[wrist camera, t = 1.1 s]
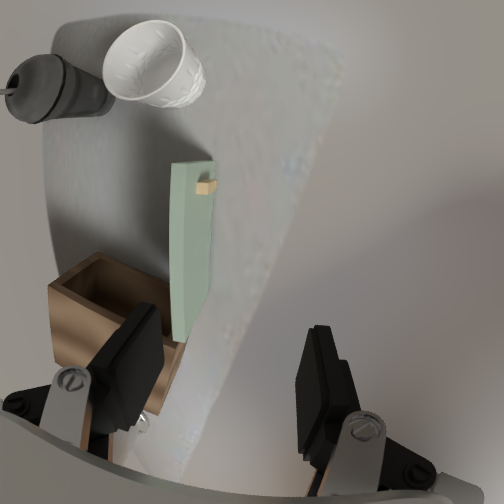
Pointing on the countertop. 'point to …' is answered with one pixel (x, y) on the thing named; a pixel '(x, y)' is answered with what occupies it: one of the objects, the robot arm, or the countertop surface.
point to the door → (189, 241)
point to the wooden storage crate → (108, 315)
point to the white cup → (154, 66)
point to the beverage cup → (54, 91)
